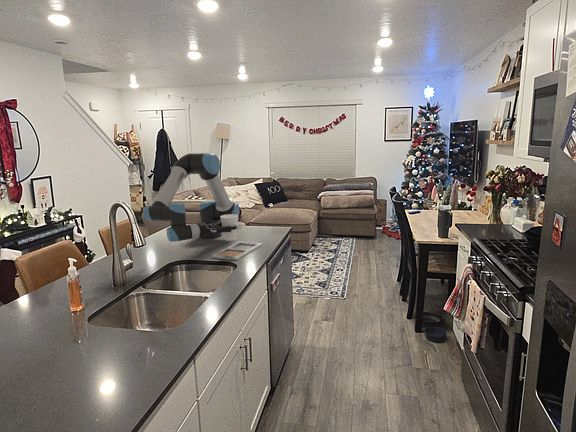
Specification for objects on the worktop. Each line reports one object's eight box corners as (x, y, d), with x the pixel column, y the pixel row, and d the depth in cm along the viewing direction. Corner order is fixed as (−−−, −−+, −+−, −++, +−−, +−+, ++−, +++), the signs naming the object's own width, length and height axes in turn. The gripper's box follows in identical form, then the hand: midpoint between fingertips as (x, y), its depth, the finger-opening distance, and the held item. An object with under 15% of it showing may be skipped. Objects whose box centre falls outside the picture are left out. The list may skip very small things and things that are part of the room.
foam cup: (218, 240, 209) (217, 217, 206) (227, 236, 217) (226, 214, 215) (233, 242, 205) (232, 218, 203) (242, 237, 214) (241, 214, 211)
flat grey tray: (238, 243, 237) (238, 241, 236) (262, 245, 231) (262, 243, 231) (211, 257, 209) (210, 255, 208) (237, 260, 203) (236, 258, 202)
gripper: (191, 233, 210) (229, 228, 222) (205, 242, 192) (246, 235, 204) (190, 220, 209) (228, 215, 221) (204, 227, 191) (245, 221, 202)
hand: (237, 224), depth 212 cm, fingers closed on foam cup, 9 cm apart
